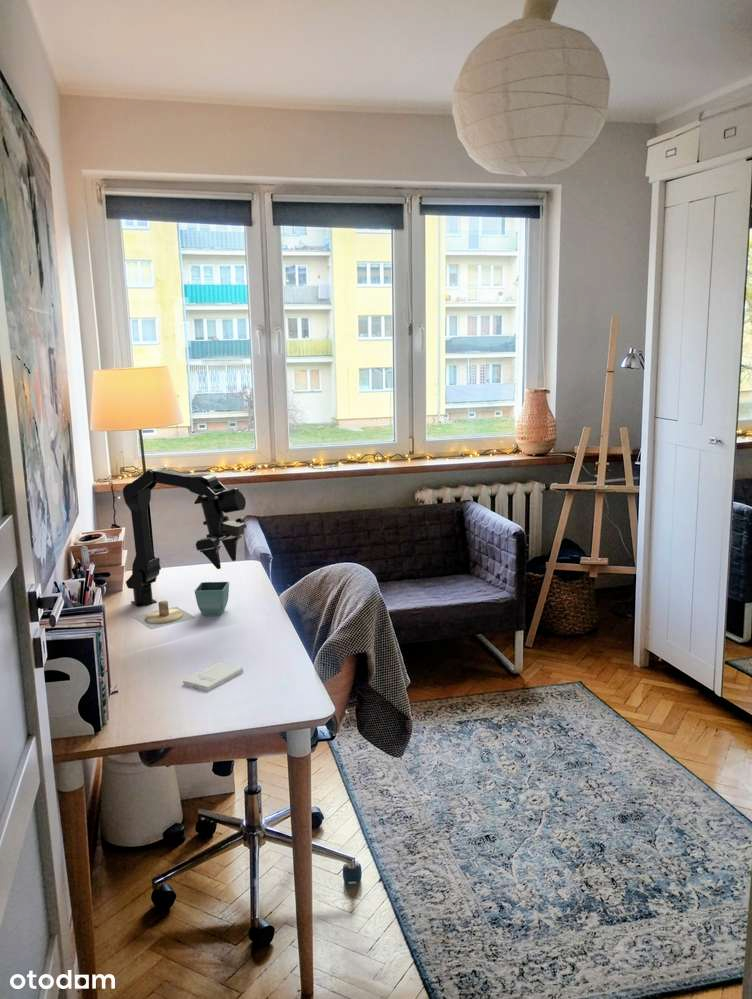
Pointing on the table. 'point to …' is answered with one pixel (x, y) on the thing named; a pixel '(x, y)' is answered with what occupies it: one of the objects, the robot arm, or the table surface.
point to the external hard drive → (213, 676)
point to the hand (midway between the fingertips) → (226, 564)
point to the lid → (164, 614)
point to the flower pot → (212, 597)
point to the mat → (151, 625)
